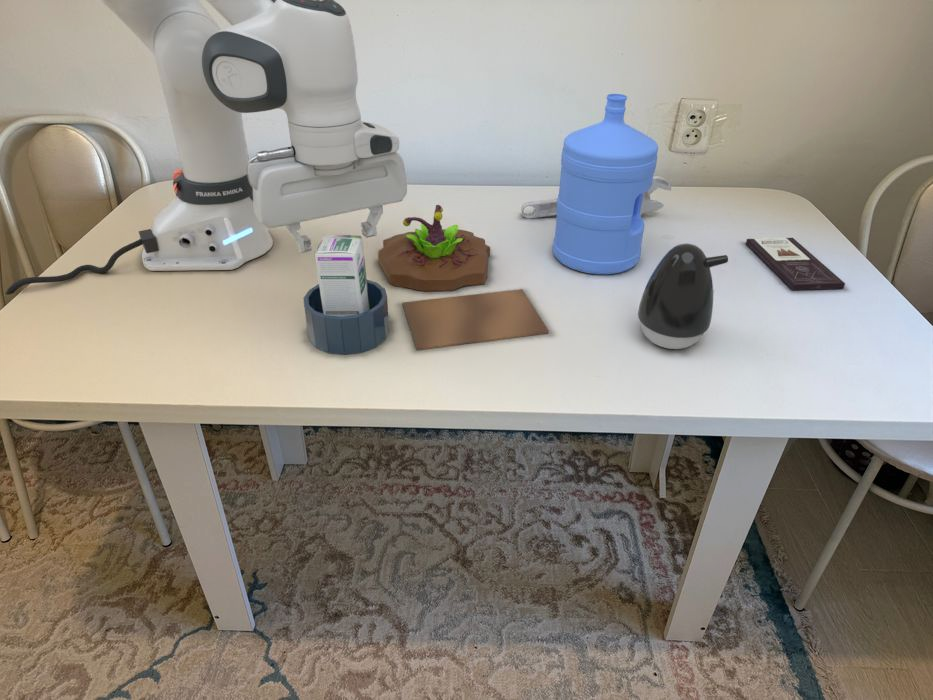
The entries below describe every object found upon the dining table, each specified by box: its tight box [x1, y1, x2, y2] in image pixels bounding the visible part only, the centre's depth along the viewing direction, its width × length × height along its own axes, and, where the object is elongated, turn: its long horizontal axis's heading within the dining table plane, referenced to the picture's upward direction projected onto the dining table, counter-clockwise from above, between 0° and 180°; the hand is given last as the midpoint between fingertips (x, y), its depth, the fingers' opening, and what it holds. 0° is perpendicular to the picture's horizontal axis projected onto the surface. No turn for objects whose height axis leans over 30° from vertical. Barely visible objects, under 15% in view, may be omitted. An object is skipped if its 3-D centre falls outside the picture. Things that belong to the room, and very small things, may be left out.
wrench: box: [520, 175, 672, 220], centre depth 134 cm, size 8×2×30 cm
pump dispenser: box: [637, 243, 729, 350], centre depth 94 cm, size 10×10×15 cm
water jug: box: [552, 93, 659, 275], centre depth 113 cm, size 16×16×28 cm
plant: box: [377, 204, 491, 292], centre depth 114 cm, size 20×20×11 cm
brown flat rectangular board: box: [401, 288, 550, 351], centre depth 102 cm, size 20×13×1 cm, turn 104°
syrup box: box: [314, 234, 370, 317], centre depth 95 cm, size 6×6×14 cm
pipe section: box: [303, 279, 390, 356], centre depth 97 cm, size 12×12×6 cm
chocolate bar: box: [745, 237, 846, 291], centre depth 118 cm, size 9×1×18 cm
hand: (337, 242), depth 90 cm, fingers open, 8 cm apart
